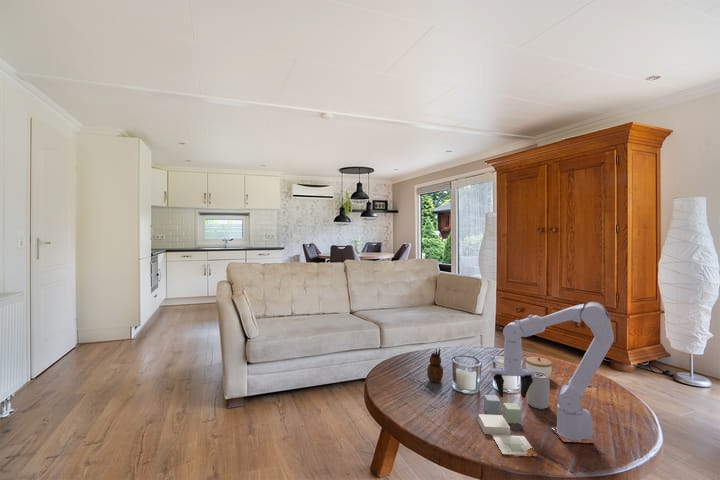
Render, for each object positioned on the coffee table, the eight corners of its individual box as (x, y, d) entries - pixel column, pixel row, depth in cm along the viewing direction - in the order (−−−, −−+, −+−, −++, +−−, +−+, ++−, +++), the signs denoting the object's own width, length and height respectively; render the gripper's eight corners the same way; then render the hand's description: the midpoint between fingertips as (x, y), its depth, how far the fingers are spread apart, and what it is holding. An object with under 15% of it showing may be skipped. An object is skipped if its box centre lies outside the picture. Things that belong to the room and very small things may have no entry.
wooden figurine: (444, 381, 158) (445, 347, 158) (440, 385, 153) (440, 350, 153) (430, 377, 162) (430, 344, 162) (425, 381, 157) (425, 347, 157)
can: (551, 405, 137) (552, 374, 136) (545, 412, 131) (546, 379, 131) (530, 399, 142) (531, 368, 142) (524, 405, 136) (524, 374, 136)
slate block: (496, 408, 134) (496, 395, 134) (500, 414, 129) (500, 400, 129) (483, 408, 134) (484, 394, 134) (487, 414, 130) (487, 400, 130)
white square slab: (501, 423, 124) (501, 415, 124) (510, 436, 116) (510, 427, 116) (478, 422, 124) (478, 414, 124) (484, 435, 116) (484, 426, 116)
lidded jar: (524, 378, 162) (524, 358, 162) (527, 371, 171) (527, 351, 171) (550, 384, 156) (551, 362, 156) (552, 376, 165) (553, 355, 165)
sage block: (515, 417, 127) (516, 403, 127) (520, 424, 123) (521, 409, 123) (502, 416, 128) (503, 402, 128) (507, 423, 123) (507, 409, 123)
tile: (524, 437, 114) (524, 435, 114) (537, 457, 104) (537, 454, 104) (492, 436, 115) (492, 433, 115) (502, 455, 105) (502, 452, 105)
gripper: (529, 354, 129) (528, 392, 129) (488, 353, 129) (487, 390, 130) (537, 361, 122) (537, 401, 122) (494, 360, 122) (493, 399, 123)
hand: (512, 396), depth 125 cm, fingers open, 7 cm apart
